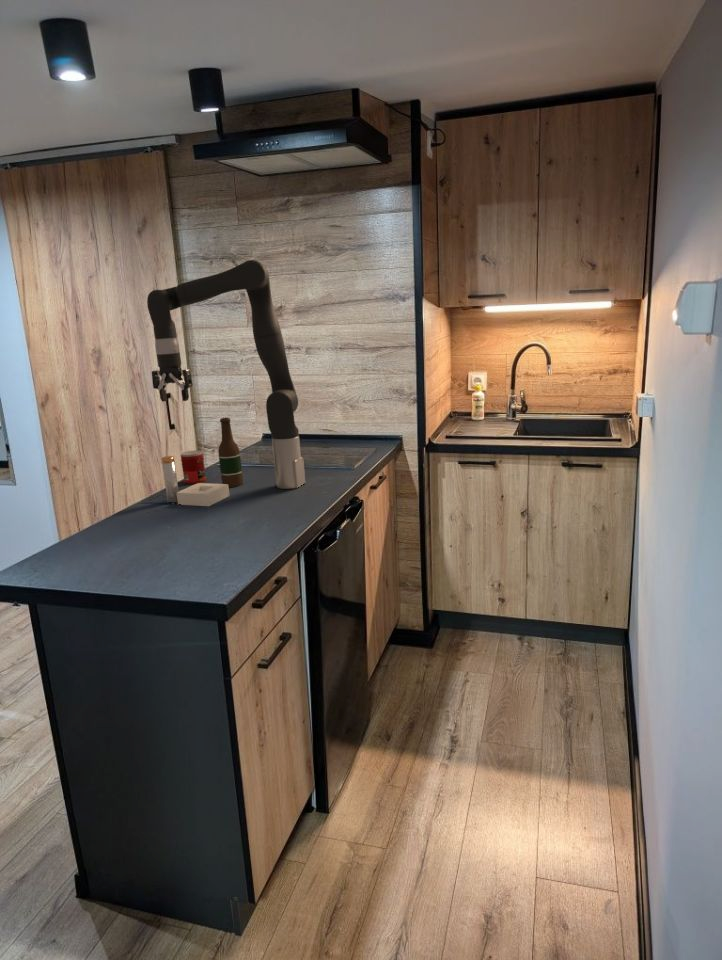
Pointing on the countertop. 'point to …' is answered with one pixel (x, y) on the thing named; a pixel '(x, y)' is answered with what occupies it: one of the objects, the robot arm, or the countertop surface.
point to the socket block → (203, 494)
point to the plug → (170, 478)
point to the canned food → (193, 467)
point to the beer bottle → (229, 457)
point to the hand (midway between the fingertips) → (174, 400)
